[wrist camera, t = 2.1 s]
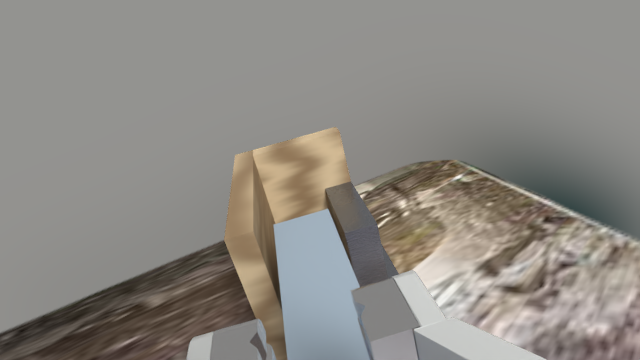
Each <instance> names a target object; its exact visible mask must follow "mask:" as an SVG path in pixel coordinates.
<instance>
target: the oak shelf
mask: <svg viewBox="0 0 640 360" xmlns="http://www.w3.org/2000/svg"><path fill="white" fill-rule="evenodd" d="M347 182H350V176H349V172H348V167H347V163H346V159H345V154H344V149H343V145H342V141H341V137H340V132H339V130H338V129H337V128H336V127H334V128H330V129H326V130H323V131H319V132H316V133H312V134H309V135H305V136H301V137H298V138H294V139H291V140H287V141H284V142H280V143H277V144H273V145H269V146H266V147H262V148H259V149H255V150H252V151H248V152H244V153H241V154H237V155H235V161H234V169H233V177H232V184H231V192H230V199H229V207H228V215H227V222H226V230H225V237H224V241H225V243H226V246H227V248H228V251H229V253H230V256H231V258H232V261H233V263H234V266H235V268H236V271H237V273H238V275H239V278H240V280H241V283H242V285H243V288H244V290H245V293H246V295H247V298H248V300H249V303H250V305H251V308H252V310H253V313H254V315H255V317H256V319H260V320H261V322H262V324H263V326H264V329H265V331H266V343H267V344H269V345H271V346H272V348H273V351H274V354H275V357H276V360H287V351H286V342H285V332H284V322H283V312H282V303H281V293H280V283H279V274H278V264H277V254H276V245H275V235H274V224H277V223H281V222H284V221H288V220H291V219H294V218H298V217H301V216H305V215H308V214H312V213H315V212H318V211H322V210H325V209H328V210H329V212H330V215H331V217H332V213H331V209H330V205H329V201H328V198H327V194H326V190H325V189H326V188H329V187H333V186H336V185H340V184H343V183H347ZM332 219H333V217H332ZM333 222H334V221H333Z"/></svg>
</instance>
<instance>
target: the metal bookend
mask: <svg viewBox="0 0 640 360" xmlns="http://www.w3.org/2000/svg"><path fill="white" fill-rule="evenodd" d="M325 190H326V194H327V198H328V201H329V205H330V209H331V213H332V217H333V221H334V224H335V227H336V229H337V232H338V234H339V237H340V239H341V242H342V244H343V246H344V249H345V251H346V254H347V256H348V259H349V261H350V264H351V266H352V269H353V271H354V274H355V276H356V278H357V281H358V283H359V286H360V287H363V286H366V285H369V284H372V283H375V282H379V281H382V280H385V279H388V278H392V277H393V276H396V275H399V274H398V272H397V270H396V268H395V267H394V265H393V263H392V262H391V260H390V258H389V256H388V255H387V253H386V251H385V249H384V248H383V246H382V244H381V241H380V236H379V231H378V226H377V223H376V221H375V220H374V218H373V216H372V215H371V213H370V212H369V210H368V208H367V207H366V205H365V204H364V202H363V200H362V199H361V197H360V195H359V194H358V192H357V191H356V189H355V187H354V186H353V184H352V183H351V181H350V182H347V183H343V184H340V185H336V186H333V187H329V188H326V189H325Z"/></svg>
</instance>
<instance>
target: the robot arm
mask: <svg viewBox="0 0 640 360" xmlns="http://www.w3.org/2000/svg"><path fill="white" fill-rule="evenodd" d="M350 291H351V296H352V300H353V304H354V307H355V310H356V313H357V315H358V323H359V326H360V330H361V333H362V337H363V340H364V343H365V346H366V349H367V352H368V355H369V358H370V360H547V359H544V358H542V357H540V356H538V355H536V354H533V353H531V352H529V351H527V350H525V349H522V348H520V347H518V346H516V345H514V344H512V343H509V342H507V341H505V340H503V339H501V338H498V337H496V336H494V335H492V334H490V333H488V332H485V331H483V330H481V329H479V328H477V327H474V326H472V325H470V324H468V323H466V322H464V321H461V320H459V319H457V318H455V317H451V318H448V319H447V318H446V317H445V315H444V314H443V312H442V311H441V309H440V308H439V306H438V305H437V303H436V302H435V300H434V299H433V297H432V296H431V294H430V293H429V291H428V290H427V288H426V287H425V285H424V284H423V282H422V281H421V279H420V278H419V276H418V275H417V273H416V272H415V271H413V270H411V271H408V272H405V273H402V274H399V275H396V276H393V277H392V278H388V279H385V280H382V281H379V282H375V283H372V284H369V285H366V286H363V287H359V288H356V289H353V290H350ZM186 360H276V357H275V354H274V351H273V348H272V346H271V345H269V344H267V343H266V331H265V329H264V326H263V324H262V322H261V320H260V319H255V320H252V321H248V322H244V323H241V324H237V325H234V326H230V327H227V328H223V329H220V330H216V331H215V332H210V333H207V334H203V335H200V336H196V337H193V339H192V340H191V341H190V343H189V348H188V353H187V358H186Z"/></svg>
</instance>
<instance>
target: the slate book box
mask: <svg viewBox="0 0 640 360" xmlns="http://www.w3.org/2000/svg"><path fill="white" fill-rule="evenodd" d="M274 235H275V245H276V254H277V264H278V274H279V283H280V293H281V303H282V312H283V322H284V332H285V342H286V351H287V360H370V358H369V355H368V352H367V349H366V346H365V343H364V340H363V337H362V333H361V330H360V326H359V323H358V315H357V313H356V310H355V307H354V304H353V300H352V296H351V291H350V290H353V289H356V288H359V287H360V286H359V283H358V281H357V278H356V276H355V274H354V271H353V269H352V266H351V264H350V261H349V259H348V256H347V254H346V251H345V249H344V246H343V244H342V242H341V239H340V237H339V234H338V232H337V229H336V227H335V224H334V222H333V219H332V217H331V215H330V212H329V210H328V209H325V210H322V211H318V212H315V213H312V214H308V215H305V216H301V217H298V218H294V219H291V220H288V221H284V222H281V223H277V224H274Z"/></svg>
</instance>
